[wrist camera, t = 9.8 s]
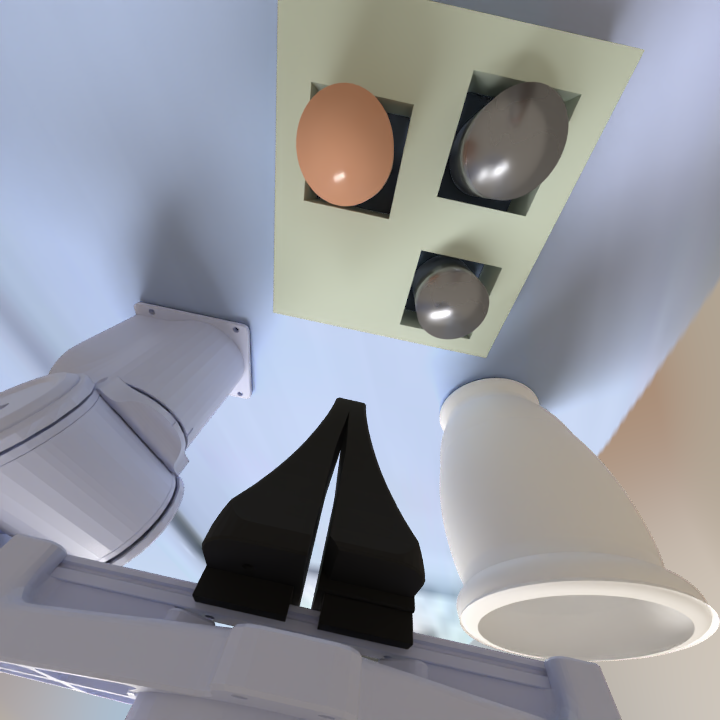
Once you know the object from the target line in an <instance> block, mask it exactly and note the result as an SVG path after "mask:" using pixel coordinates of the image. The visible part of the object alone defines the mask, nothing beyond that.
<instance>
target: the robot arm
mask: <svg viewBox="0 0 720 720" xmlns="http://www.w3.org/2000/svg"><path fill="white" fill-rule="evenodd" d="M134 309H135V312H136V315H135V316H133V317H131V318H129V319H127V320H125V321H123V322H121V323H119V324H117V325H115V326H113V327H111V328H109V329H107V330H105V331H103V332H101V333H99V334H97V335H95V336H93V337H91V338H89V339H87V340H85V341H83V342H81V343H79V344H78V345H76V346H74V347H72V348H71V349H69V350H68V351H66V352H65V353H64V354H63V355H62V356H61V357H60V358H59V359H58V360H57V361H56V363H55V364H54V365H53V367H52V368H51V370H50V372H49V374H48V375H46V376H43V377H39V378H36V379H33V380H31V381H28V382H25V383H22V384H20V385H17V386H15V387H12V388H10V389H8V390H5V391H3V392H0V672H3V673H7V674H11V675H15V676H20V677H24V678H28V679H32V680H36V681H40V682H44V683H48V684H52V685H56V686H59V687H64V688H67V689H71V690H75V691H79V692H83V693H87V694H91V695H96V696H99V697H103V698H107V699H111V700H115V701H119V702H123V703H127V704H131V705H132V707H131V708H130V710H129V713H128V715H127V716H126V718H125V720H622V719H621V717H620V714H619V712H618V710H617V707H616V704H615V702H614V700H613V697H612V695H611V692H610V690H609V688H608V685H607V683H606V681H605V678H604V675H603V673H602V671H601V668H600V666H598V665H597V664H596V663H592V662H587V661H583V660H578V659H574V658H570V657H564V656H554V657H550V658H548V659H547V660H545V662H543V661H538V660H534V659H530V658H525V657H521V656H516V655H512V654H508V653H503V652H499V651H494V650H490V649H485V648H481V647H477V646H472V645H468V644H463V643H459V642H454V641H450V640H446V639H441V638H437V637H432V636H428V635H423V634H419V633H415V632H413V618H412V613H414V611H415V600H414V596H415V595H416V593H417V592H418V591H419V590H420V589H421V587H422V586H423V585H424V582H425V571H424V565H423V559H422V554H421V550H420V546H419V542H418V540H417V539H416V537H415V536H414V534H413V533H412V531H411V530H410V528H409V526H408V525H407V523H406V521H405V520H404V518H403V516H402V514H401V512H400V511H399V509H398V507H397V505H396V503H395V501H394V499H393V497H392V495H391V493H390V491H389V489H388V487H387V485H386V482H385V480H384V478H383V475H382V473H381V470H380V468H379V465H378V462H377V459H376V456H375V453H374V450H373V446H372V442H371V438H370V434H369V430H368V424H367V417H366V405H365V404H364V403H361V402H357V401H352V400H348V399H343V398H337V399H336V401H335V403H334V405H333V407H332V408H331V410H330V411H329V413H328V414H327V416H326V417H325V419H324V420H323V421H322V422H321V424H320V425H319V426H318V428H317V429H316V430H315V431H314V432H313V433H312V435H311V436H310V437H309V438H308V439H307V440H306V441H305V442H304V443H303V444H302V445H301V446H300V447H299V448H298V449H297V450H296V451H295V452H294V453H293V454H292V455H291V456H290V457H289V458H288V459H286V460H285V461H284V462H283V463H282V464H281V465H279V466H278V467H277V468H276V469H275V470H273V471H272V472H271V473H269V474H268V475H267V476H265V477H264V478H263V479H261V480H260V481H259V482H257V483H256V484H254V485H253V486H251V487H250V488H248V489H247V490H245V491H244V492H242V493H240V494H239V495H237V496H236V497H234V498H233V499H231V500H230V501H229V503H228V504H227V505H226V506H225V508H224V509H223V510H222V511H221V513H220V514H219V515H218V517H217V518H216V520H215V521H214V523H213V524H212V526H211V528H210V530H209V532H208V533H207V535H206V537H205V539H204V541H203V543H202V550H203V553H204V557H205V560H206V564H207V566H206V568H205V570H204V572H203V574H202V576H201V578H200V580H199V582H198V584H197V583H193V582H189V581H184V580H180V579H175V578H171V577H166V576H162V575H158V574H153V573H149V572H144V571H140V570H135V569H131V568H127V567H122V566H123V565H125V564H126V563H128V562H129V561H131V560H132V559H134V558H135V557H137V556H138V555H139V554H141V553H142V552H143V551H144V550H145V549H147V548H148V547H149V546H150V545H151V544H152V543H153V542H154V541H155V540H156V539H157V538H158V537H159V536H160V535H161V533H162V532H163V531H164V530H165V529H166V527H167V526H168V524H169V523H170V521H171V520H172V518H173V517H174V515H175V513H176V512H177V510H178V508H179V506H180V504H181V501H182V498H183V495H184V484H183V481H182V479H181V477H179V474H180V473H181V472H182V470H183V469H184V468H185V466H186V465H187V464H188V462H189V460H188V458H187V457H186V455H185V450H186V449H187V448H188V447H189V445H190V444H191V443H192V441H193V440H194V439H195V438H196V436H197V435H198V434H199V433H200V431H201V430H202V429H203V427H204V426H205V425H206V424H207V422H208V421H209V420H210V418H211V417H212V416H213V415H214V413H215V412H216V411H217V410H218V408H219V407H220V406H221V404H222V403H223V402H224V401H225V399H226V398H227V397H228V395H231V396H236V397H240V398H245V399H248V398H250V397H251V395H252V385H251V358H250V331H249V328H248V326H246V325H245V324H241V323H237V322H232V321H227V320H222V319H218V318H213V317H208V316H204V315H199V314H194V313H190V312H185V311H180V310H175V309H171V308H166V307H161V306H157V305H152V304H147V303H143V302H139V303H137V304H135V305H134ZM153 310H154V311H155V312H153ZM235 327H237V328H238V329H239V331H238V330H236V329H235ZM240 392H241V393H240ZM340 450H341V451H340ZM339 453H340V459H339V467H338V475H337V483H336V491H335V498H334V504H333V509H332V513H331V518H330V523H329V527H328V532H327V537H326V542H325V546H324V551H323V556H322V560H321V565H320V570H319V574H318V579H317V584H316V588H315V593H314V598H313V602H312V607H311V609H308V608H304V607H299V606H300V602H301V598H302V594H303V589H304V585H305V581H306V576H307V572H308V568H309V563H310V559H311V555H312V551H313V546H314V542H315V538H316V533H317V529H318V525H319V521H320V516H321V512H322V508H323V504H324V500H325V496H326V493H327V490H328V487H329V484H330V481H331V477H332V474H333V471H334V468H335V465H336V462H337V459H338V456H339ZM215 622H217V623H222V624H226V625H231V626H234V627H233V628H228V627H220V626H215ZM361 655H363V656H368V657H372V658H377V659H379V661H378V662H375V661H372V660H369V659H366V658H363V657H361Z"/></svg>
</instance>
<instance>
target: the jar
mask: <svg viewBox="0 0 720 720" xmlns="http://www.w3.org/2000/svg"><path fill="white" fill-rule="evenodd" d="M440 424H441V427H442V429H443V431H444V433H443V436H442V441H441V449H440V464H441V467H440V502H441V511H442V517H443V523H444V527H445V532H446V536H447V540H448V544H449V547H450V551H451V554H452V557H453V560H454V563H455V566H456V569H457V571H458V574H459V576H460V578H461V580H462V582H463V585H464V586H463V587H462V589H461V590H460V592H459V594H458V598H457V613H458V616H459V619H460V625H461V627H462V629H463V630H464V631H465V632H466V633H467V634H468V635H469V636H470V637H472V638H473V639H475V640H477V641H479V642H481V643H483V644H485V645H488V646H490V647H493V648H496V649H499V650H502V651H506V652H510V653H514V654H519V655H525V656H530V657H536V658H544V659H548V658H550V657H554V656H564V657H570V658H574V659H578V660H583V661H615V660H629V659H638V658H646V657H652V656H658V655H663V654H667V653H672V652H675V651H679V650H682V649H685V648H688V647H691V646H694V645H695V644H698V643H700V642H702V641H704V640H705V639H707V638H709V637H710V636H711V635H712V634H713V633H714V632H715V631H716V630H717V628H718V626H719V616H718V614H717V613H716V611H715V610H714V609H713V608H712V607H710V606H709V605H708V603H707V601H706V600H705V598H704V597H703V595H702V594H701V593H700V592H699V590H698V589H696V588H695V587H694V586H693V585H692V584H690V582H688V581H687V580H686V579H684V578H682V577H681V576H679V575H678V574H676V573H674V572H672V571H670V570H667V569H666V568H665V567H664V564H663V561H662V558H661V555H660V553H659V550H658V548H657V546H656V544H655V542H654V540H653V537H652V536H651V533H650V532H649V530H648V528H647V526H646V524H645V522H644V521H643V519H642V517H641V515H640V514H639V512H638V510H637V509H636V507H635V506H634V504H633V502H632V501H631V499H630V498H629V496H628V495H627V493H626V492H625V490H624V489H623V488H622V486H621V485H620V484H619V482H618V481H617V480H616V478H615V477H614V476H613V474H612V473H611V472H610V471H609V470H608V468H607V467H606V466H605V465H604V464H603V463H602V462H601V461H600V459H599V458H598V457H597V456H596V455H595V454H594V453H593V452H592V451H591V450H590V449H589V448H588V447H587V446H586V445H585V444H584V443H583V442H582V441H580V440H579V439H578V438H577V437H576V436H575V435H574V434H573V433H572V432H571V431H570V430H569V429H568V428H567V427H566V426H565V425H564V424H563V423H562V422H561V421H560V420H559V419H558V418H556V417H555V416H554V415H553V414H552V413H550V412H549V411H547V410H546V409H544V408H543V407H541V406H540V404H539V401H538V398H537V396H536V395H535V394H534V392H533V391H532V390H531V389H530V388H528V387H527V386H525V385H524V384H522V383H519V382H517V381H514V380H510V379H505V378H487V379H481V380H477V381H473V382H471V383H468V384H466V385H464V386H462V387H460V388H458V389H457V390H455V391H454V392H453V393H452V394H451V395H450V396H449V397H448V398H447V399H446V400H445V402H444V403H443V405H442V407H441V410H440Z"/></svg>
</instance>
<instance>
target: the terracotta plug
mask: <svg viewBox="0 0 720 720" xmlns="http://www.w3.org/2000/svg"><path fill="white" fill-rule="evenodd" d="M296 151H297V158H298V163H299V166H300V169H301V172H302V174H303V176H304V178H305V180H306V182H307V183H308V185H309V186H310V187H311V189H312V190H313V191H314V192H315V193H316V194H317V195H318V196H319V197H321V198H322V199H324V200H325V201H327V202H329V203H331V204H334V205H338V206H354V205H357V204H361V203H363V202H365V201H367V200H368V199H370V198H372V197H373V196H375V195H376V194H377V193H379V192H380V191H381V190H382V188H383V187H384V186H385V184H386V183H387V181H388V179H389V177H390V174H391V171H392V167H393V161H394V140H393V132H392V127H391V124H390V120H389V118H388V116H387V113H386V111H385V109H384V108H383V106H382V105H381V103H380V102H379V101H378V99H377V98H376V97H375V96H374V95H373V94H372V93H370V92H369V91H368V90H366V89H365V88H363V87H361V86H358V85H355V84H352V83H336V84H332V85H330V86H327V87H325V88H323V89H322V90H320V91H319V92H318V93H317V94H316V95H314V96H313V97H312V99H311V100H310V101H309V102H308V104H307V105H306V107H305V109H304V111H303V113H302V115H301V118H300V121H299V124H298V129H297V136H296Z"/></svg>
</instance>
